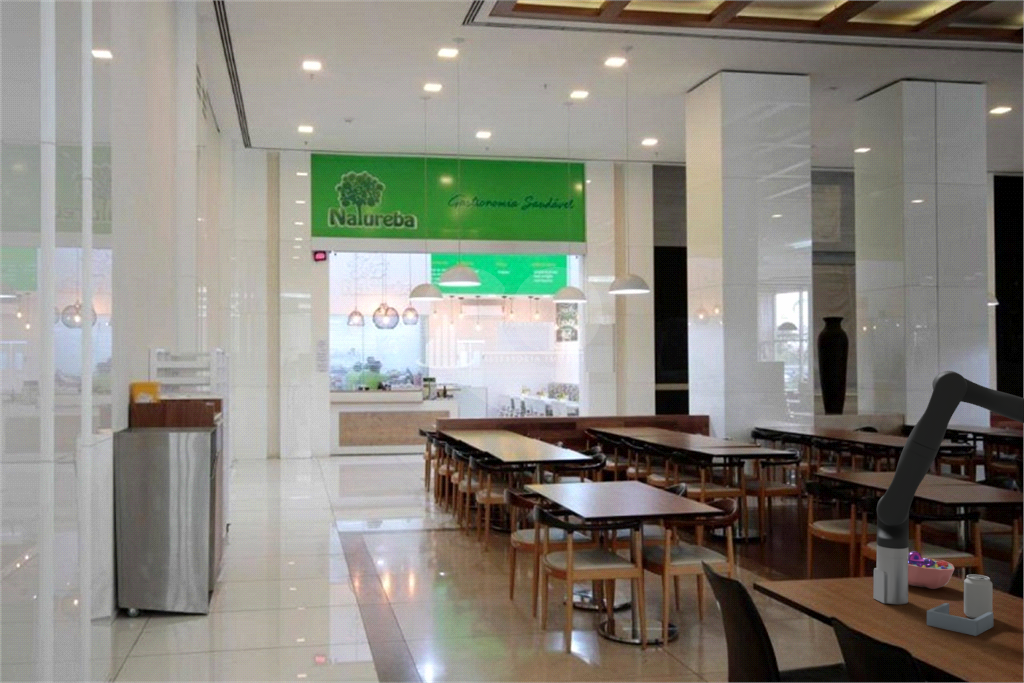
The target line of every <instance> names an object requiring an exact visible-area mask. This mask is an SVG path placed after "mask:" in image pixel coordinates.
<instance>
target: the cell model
mask: <svg viewBox="0 0 1024 683" xmlns="http://www.w3.org/2000/svg"><path fill="white" fill-rule="evenodd" d="M954 571H955V566H954V564H952V563H951V562H948V561H946V560H943V559H937V558H931V557H924V556H922V555H921V553H920V552H918V551H917V550H912V551H910V552H909V551H908V586H913V587H919V588H926V589H927V588H928V589H932V590H936V589H940V588H942V587H945V586H946V585H947V584H948V583H949V582H950V580H951V578H952V575H953V573H954Z"/></svg>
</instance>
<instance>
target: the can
mask: <svg viewBox="0 0 1024 683" xmlns="http://www.w3.org/2000/svg"><path fill="white" fill-rule="evenodd" d="M987 612H993V582H992V581H991V577H989V576H987V575H983V574H974V573H973V574H967V575H966V578H965V579H964V580H963V613H964V614H965V616H966V618H968V619H975V618H977V617H979V616H981V615H983V614H985V613H987Z"/></svg>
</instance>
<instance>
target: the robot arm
mask: <svg viewBox="0 0 1024 683" xmlns="http://www.w3.org/2000/svg"><path fill="white" fill-rule="evenodd" d="M931 385H932V392H931V396H930V398H929V402H928V404H927V407H926V409H925V411H924V413H923V414H922V415H921V416H920V418H919V420H918V421H917V422H916V424H915V425H914V427H913V429H912V430H911V431H910V433H909V435H908V437H907V438H906V441H905V444H904V446H903V449H902V450H901V453H900V455H899V459H898V462H897V466H896V469H895V473H894V476H893V477H892V480H891V482H890V485H889V486H888V488H887V489H886V491H885V493H884V494H883V495H882V496H881V497H880V498H879V500H878V501H877V505H876V525H877V526H876V567H874V568H873V597H872V598H873V599H874V600H876V601H878V602H879V603H882V604H890V605H906V604H908V603H909V584H908V553H909V541H910V540H909V539H910V536H909V535H910V534H909V533H910V532H909V531H910V530H909V529H910V528H909V526H910V524H909V523H910V522H909V521H910V518H909V517H910V512H909V511H910V509H911V505H912V503H913V501H914V497H915V494H916V492H917V490H918V488H919V486H920V485H921V483H922V481H923V480H924V478H925V477H926V475H927V473H928V472H929V470H930V468H931V466H932V465H933V462H934V461H935V458H936V457H937V455H938V453H939V449H940V448H941V445H942V443H943V440H944V439H945V438H944V437H945V435H946V432H947V429H948V426H949V423H950V421H951V419H952V417H953V415H954V413H955V412H956V410H957V408H958V406H959V405H960V403H961V402H962V403H967V404H970V405H973V406H976V407H977V406H978V407H979V408H983V409H985V410H988V411H990V412H993V413H994V414H996V415H997V414H998V415H1000V416H1002V417H1004V418H1008V419H1010V420H1013V421H1016V422H1020V423H1023V424H1024V398H1023V397H1021V396H1018V395H1014V394H1012V393H1011V394H1010V393H1007V392H1003V391H999V390H996V389H993V388H990V387H986V386H983V385H980V384H978V383H976V382H973V381H972V380H970V379H967V378H965V377H964V375H962V374H960V373H959V372H956V371H953V370H945V371H942V372H938V374H936V376H935V377H934V378H933V381H932V384H931Z"/></svg>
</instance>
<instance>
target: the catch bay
mask: <svg viewBox="0 0 1024 683" xmlns="http://www.w3.org/2000/svg"><path fill="white" fill-rule="evenodd" d="M926 626H929V627H934V628H938V629H943V630H947V631H952V632H955V633H956V632H957V633H961V634H965V635H966V634H967V635H970V636H974V637H977V636H979V635H981V634H983V633H984V632H987V631H988V630H990V629H992V628H994V612H993V611H992V612H987V613H985V614H983V615H981V616H979V617H977V618H975V619H972V618H969V617H963V616H957V615H953V614H950V603H949V602H944V603H941V604H939V605H937V606H934V607H932V608H930V609H928V610H926Z"/></svg>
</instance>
